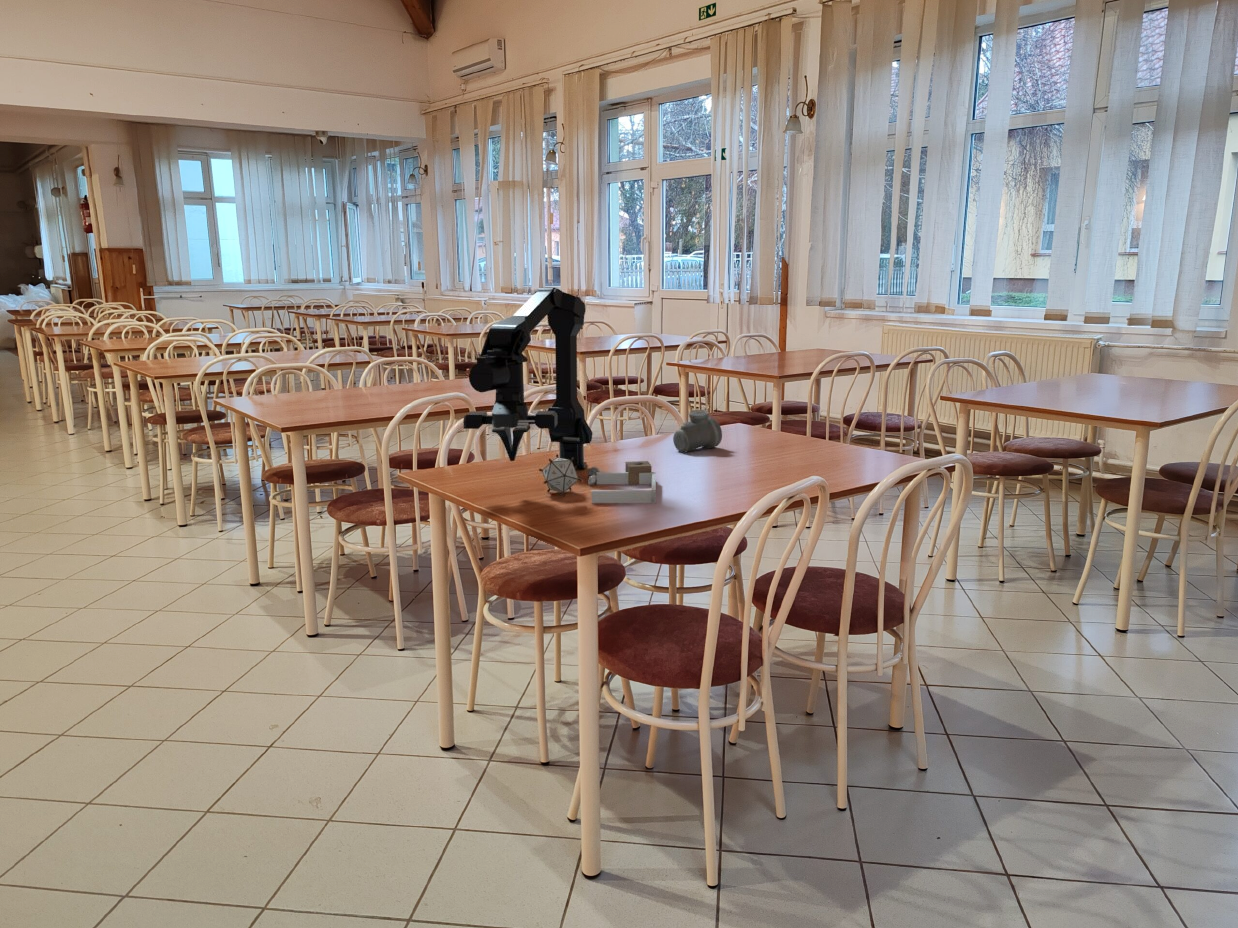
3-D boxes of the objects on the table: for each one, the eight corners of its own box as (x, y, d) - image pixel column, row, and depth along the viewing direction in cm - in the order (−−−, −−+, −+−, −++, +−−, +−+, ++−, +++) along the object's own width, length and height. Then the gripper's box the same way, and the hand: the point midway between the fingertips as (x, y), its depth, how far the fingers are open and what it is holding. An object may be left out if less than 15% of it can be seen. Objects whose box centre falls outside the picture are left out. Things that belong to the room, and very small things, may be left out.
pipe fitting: (702, 442, 232) (701, 405, 228) (723, 449, 226) (723, 411, 222) (668, 453, 225) (666, 415, 221) (689, 460, 219) (688, 422, 215)
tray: (597, 483, 190) (596, 472, 189) (655, 483, 189) (655, 472, 189) (591, 503, 174) (591, 491, 173) (655, 503, 173) (655, 491, 173)
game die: (557, 512, 181) (534, 480, 175) (549, 489, 188) (527, 458, 182) (594, 491, 180) (572, 459, 175) (584, 469, 187) (563, 437, 181)
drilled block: (625, 479, 193) (625, 461, 192) (647, 478, 194) (647, 460, 193) (628, 484, 188) (628, 466, 187) (651, 483, 189) (651, 465, 188)
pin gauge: (588, 477, 195) (588, 466, 195) (599, 477, 195) (599, 466, 195) (586, 485, 188) (585, 475, 187) (597, 485, 188) (597, 475, 187)
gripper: (455, 391, 170) (459, 469, 174) (550, 391, 169) (552, 469, 173) (467, 384, 181) (471, 457, 185) (556, 383, 180) (558, 457, 184)
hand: (512, 460), depth 181 cm, fingers closed
